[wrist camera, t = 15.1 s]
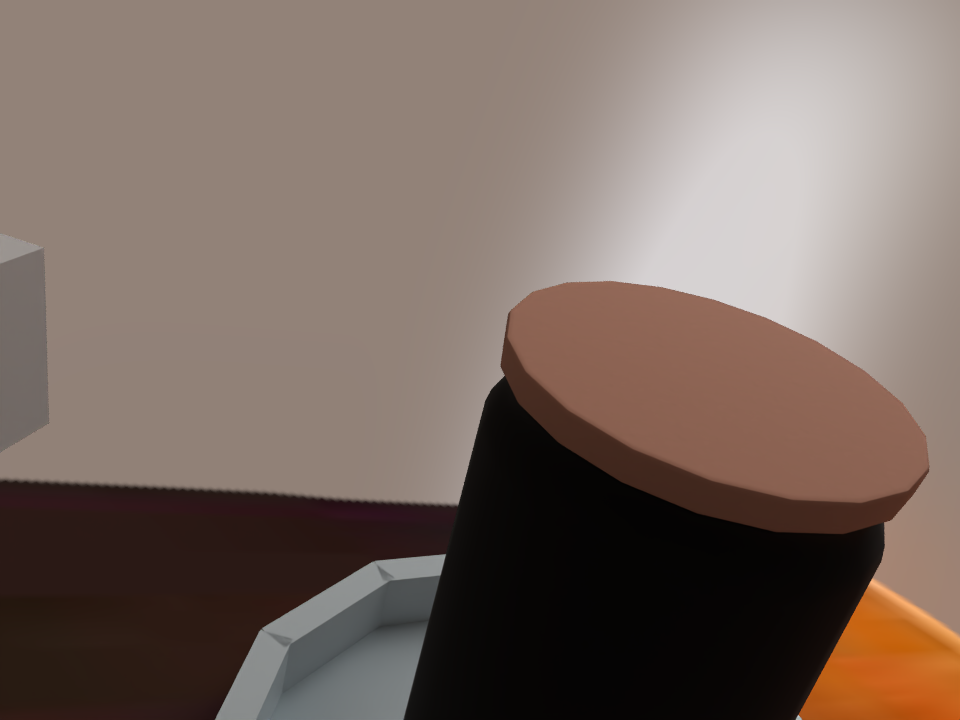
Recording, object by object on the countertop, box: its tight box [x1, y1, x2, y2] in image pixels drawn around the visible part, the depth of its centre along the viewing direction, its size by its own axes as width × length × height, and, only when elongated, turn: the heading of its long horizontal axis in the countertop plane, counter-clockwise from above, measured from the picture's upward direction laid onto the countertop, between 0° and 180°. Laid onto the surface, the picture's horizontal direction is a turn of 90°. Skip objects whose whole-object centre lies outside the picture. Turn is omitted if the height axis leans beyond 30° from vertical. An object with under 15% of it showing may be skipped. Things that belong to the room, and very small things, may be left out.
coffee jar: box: [403, 281, 929, 720], centre depth 26 cm, size 11×11×18 cm
